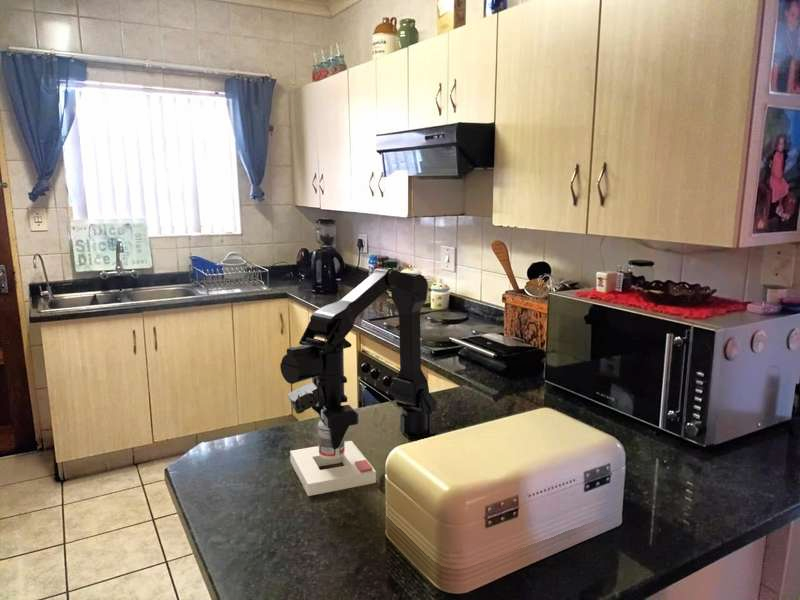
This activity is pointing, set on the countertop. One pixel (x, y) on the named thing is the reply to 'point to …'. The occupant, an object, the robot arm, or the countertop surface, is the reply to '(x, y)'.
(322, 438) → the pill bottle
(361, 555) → the countertop surface
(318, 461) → the socket plate
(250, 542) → the countertop surface
